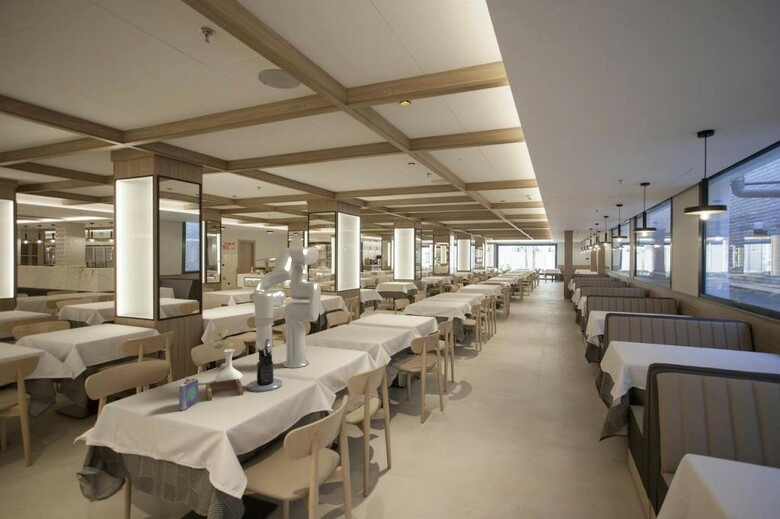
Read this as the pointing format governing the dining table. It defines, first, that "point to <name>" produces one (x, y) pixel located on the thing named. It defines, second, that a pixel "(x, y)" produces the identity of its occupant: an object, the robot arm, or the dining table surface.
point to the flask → (188, 393)
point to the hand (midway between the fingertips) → (265, 361)
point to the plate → (258, 388)
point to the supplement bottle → (264, 372)
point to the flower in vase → (229, 371)
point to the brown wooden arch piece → (223, 387)
